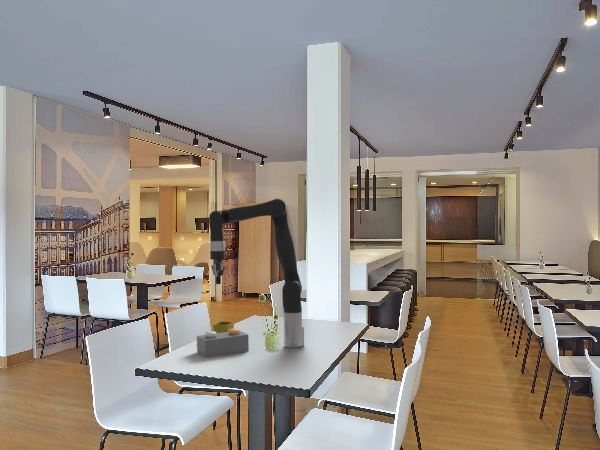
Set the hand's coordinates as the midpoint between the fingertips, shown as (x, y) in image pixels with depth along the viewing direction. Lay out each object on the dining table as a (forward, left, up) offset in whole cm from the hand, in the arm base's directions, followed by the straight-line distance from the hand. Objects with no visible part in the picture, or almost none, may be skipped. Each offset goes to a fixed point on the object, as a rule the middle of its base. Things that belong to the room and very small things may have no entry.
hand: (218, 284), depth 244 cm
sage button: (+8, +10, -25) cm, 28 cm away
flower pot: (-8, -14, -32) cm, 36 cm away
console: (+2, +10, -32) cm, 34 cm away
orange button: (-4, +10, -25) cm, 28 cm away
